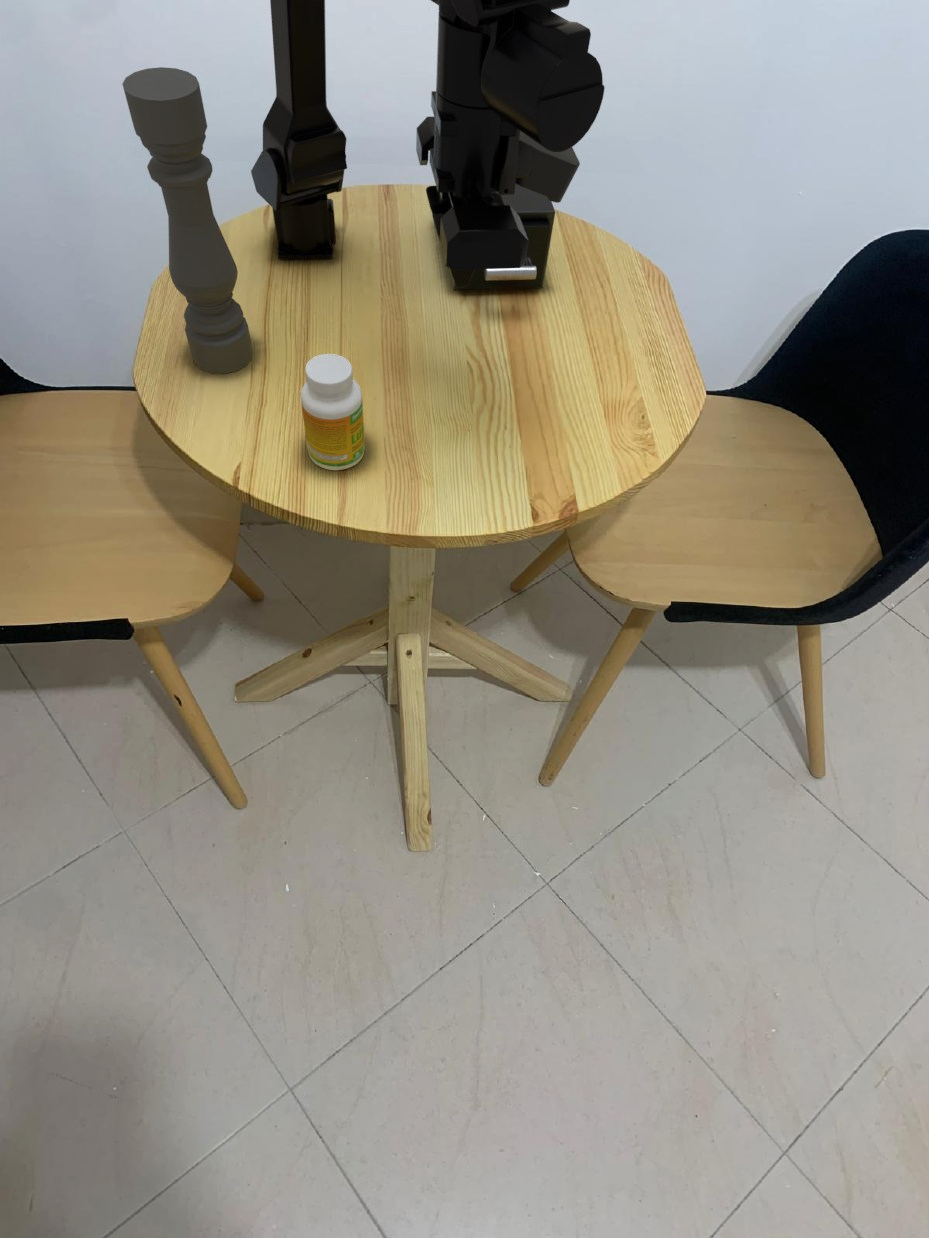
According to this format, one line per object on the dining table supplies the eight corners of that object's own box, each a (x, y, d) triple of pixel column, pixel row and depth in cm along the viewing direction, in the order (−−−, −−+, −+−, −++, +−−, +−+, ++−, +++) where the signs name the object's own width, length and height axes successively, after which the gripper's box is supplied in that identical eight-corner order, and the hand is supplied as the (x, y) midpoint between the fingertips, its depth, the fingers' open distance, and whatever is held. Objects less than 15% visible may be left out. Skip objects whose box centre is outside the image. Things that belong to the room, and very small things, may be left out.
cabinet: (542, 288, 91) (555, 211, 83) (453, 290, 89) (458, 212, 82) (521, 224, 98) (531, 148, 91) (439, 225, 97) (442, 148, 89)
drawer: (547, 309, 87) (559, 247, 81) (465, 311, 86) (470, 249, 80) (521, 227, 96) (529, 166, 90) (446, 228, 95) (449, 166, 89)
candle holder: (192, 376, 78) (116, 103, 57) (191, 337, 81) (120, 66, 61) (254, 371, 79) (202, 101, 58) (251, 334, 82) (201, 65, 62)
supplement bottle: (362, 474, 72) (357, 391, 64) (304, 470, 72) (292, 387, 64) (367, 434, 75) (363, 350, 67) (311, 430, 75) (301, 345, 67)
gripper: (613, 153, 53) (571, 346, 66) (552, 39, 63) (526, 225, 76) (453, 155, 51) (442, 352, 64) (416, 37, 61) (414, 228, 74)
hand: (461, 284), depth 70 cm, fingers closed
